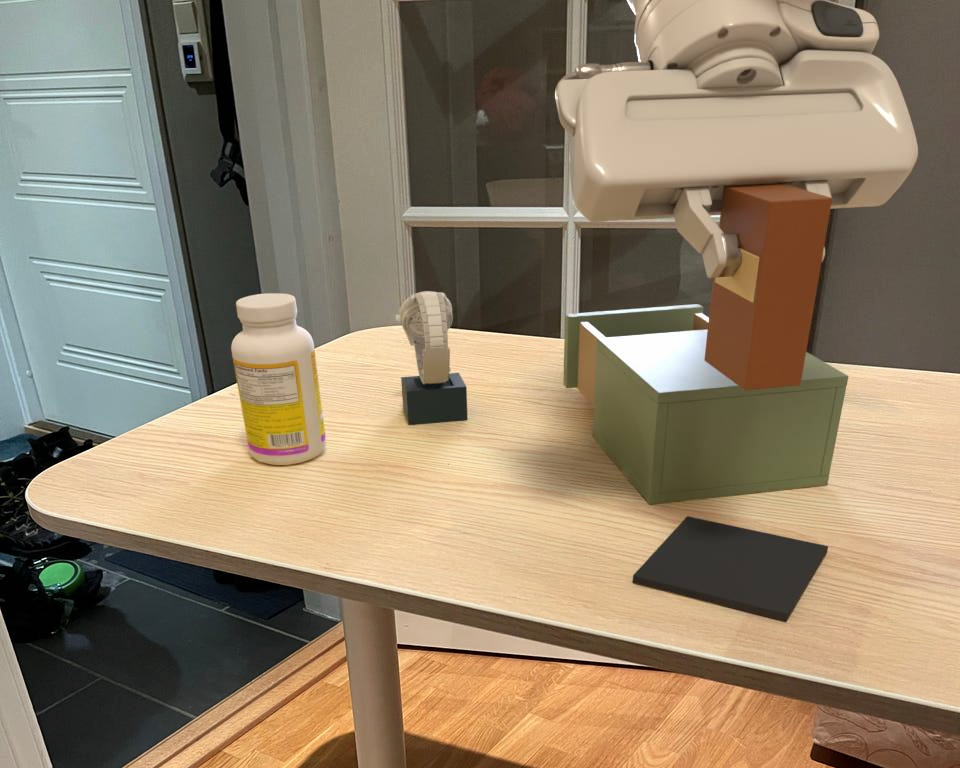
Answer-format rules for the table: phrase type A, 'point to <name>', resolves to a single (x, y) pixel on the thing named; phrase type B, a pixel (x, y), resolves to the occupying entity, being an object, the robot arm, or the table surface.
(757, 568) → the slate mat
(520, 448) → the table surface
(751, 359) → the brown rectangular block
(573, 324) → the drawer
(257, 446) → the supplement bottle
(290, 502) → the table surface
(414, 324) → the watch
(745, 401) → the cabinet
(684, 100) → the robot arm
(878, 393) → the table surface
